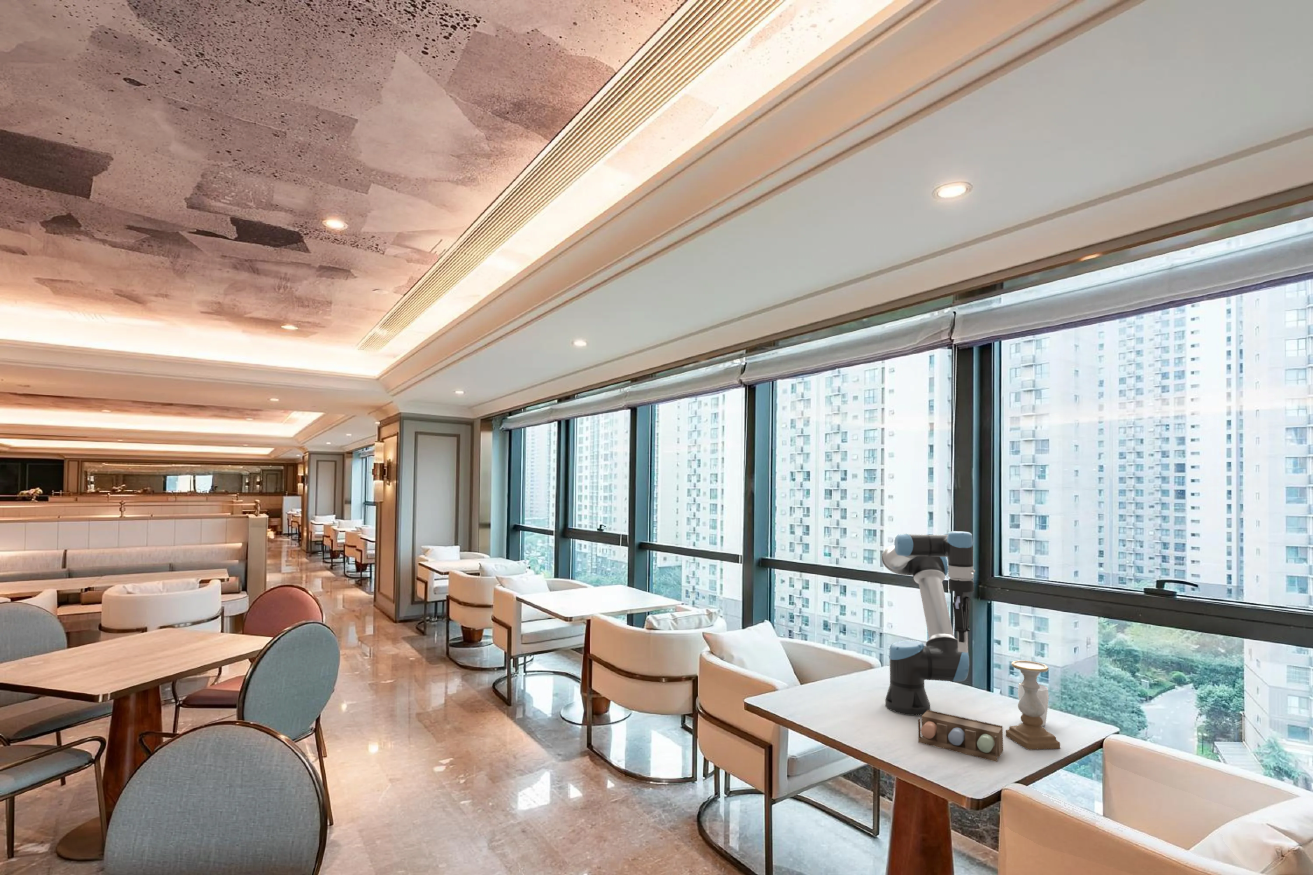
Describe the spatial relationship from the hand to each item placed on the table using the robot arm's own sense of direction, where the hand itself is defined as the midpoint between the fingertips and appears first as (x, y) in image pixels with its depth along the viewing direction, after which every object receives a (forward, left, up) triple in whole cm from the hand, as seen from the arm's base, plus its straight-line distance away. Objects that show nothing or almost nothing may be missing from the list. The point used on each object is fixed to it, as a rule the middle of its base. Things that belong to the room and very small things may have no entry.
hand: (962, 651), depth 207 cm
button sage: (+9, -16, -24) cm, 30 cm away
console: (+1, -12, -26) cm, 29 cm away
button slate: (+1, -16, -24) cm, 29 cm away
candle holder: (+18, +6, -27) cm, 33 cm away
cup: (+16, +25, -27) cm, 40 cm away
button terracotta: (-7, -16, -24) cm, 29 cm away
